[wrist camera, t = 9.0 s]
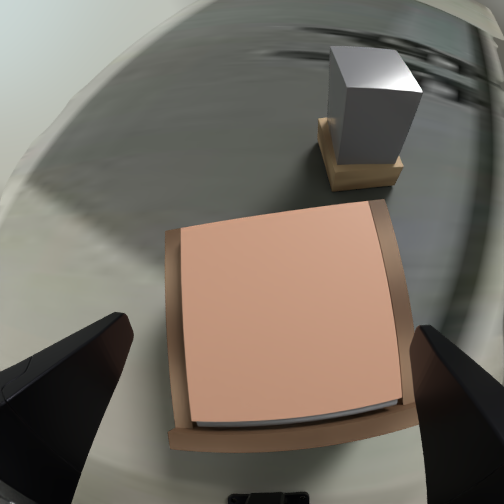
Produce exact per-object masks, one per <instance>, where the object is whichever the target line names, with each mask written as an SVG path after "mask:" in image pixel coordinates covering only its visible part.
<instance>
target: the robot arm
mask: <svg viewBox="0 0 504 504" xmlns="http://www.w3.org/2000/svg"><path fill="white" fill-rule="evenodd" d="M133 338H134V333H133V330H132V327H131V324H130V322H129V319H128V316H127V315H126V314H125V313H120V312H114V313H112V314H110V315H108V316H106V317H104V318H102V319H100V320H98V321H96V322H95V323H93V324H91V325H89V326H87V327H85V328H83V329H81V330H79V331H77V332H76V333H74V334H72V335H70V336H68V337H66V338H64V339H62V340H61V341H59V342H57V343H55V344H53V345H51V346H49V347H47V348H46V349H44V350H42V351H40V352H38V353H36V354H34V355H33V356H31V357H29V358H27V359H25V360H23V361H21V362H19V363H17V364H15V365H13V366H11V367H9V368H7V369H5V370H3V371H1V372H0V504H71V503H72V499H73V496H74V493H75V490H76V487H77V484H78V482H79V479H80V476H81V472H82V470H83V467H84V464H85V462H86V459H87V456H88V454H89V451H90V448H91V446H92V443H93V441H94V438H95V435H96V433H97V430H98V428H99V425H100V423H101V421H102V418H103V416H104V413H105V411H106V409H107V406H108V404H109V402H110V399H111V397H112V395H113V392H114V390H115V388H116V386H117V383H118V381H119V379H120V376H121V374H122V371H123V368H124V365H125V362H126V359H127V356H128V353H129V350H130V347H131V344H132V342H133ZM409 355H410V363H411V371H412V381H413V391H414V399H415V404H416V410H417V415H418V421H419V427H420V433H421V440H422V447H423V455H424V464H425V474H426V487H427V504H504V386H502V385H501V384H500V383H499V382H498V381H497V380H496V379H495V378H493V377H492V376H491V375H490V374H489V373H488V372H487V371H485V370H484V369H483V368H482V367H481V366H480V365H478V364H477V363H476V362H475V361H474V360H473V359H471V358H470V357H469V356H468V355H467V354H465V353H464V352H463V351H462V350H461V349H459V348H458V347H457V346H456V345H455V344H453V343H452V342H451V341H450V340H449V339H447V338H446V337H445V336H444V335H442V334H441V333H440V332H439V331H437V330H436V329H435V328H434V327H432V326H431V325H419V326H418V327H417V328H416V330H415V333H414V336H413V339H412V341H411V344H410V348H409ZM301 496H305V498H300V497H301ZM232 498H235V499H236V500H233V499H232ZM228 504H309V494H308V493H307V492H294V493H282V492H276V493H251V494H231V495H230V496H229V497H228Z"/></svg>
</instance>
